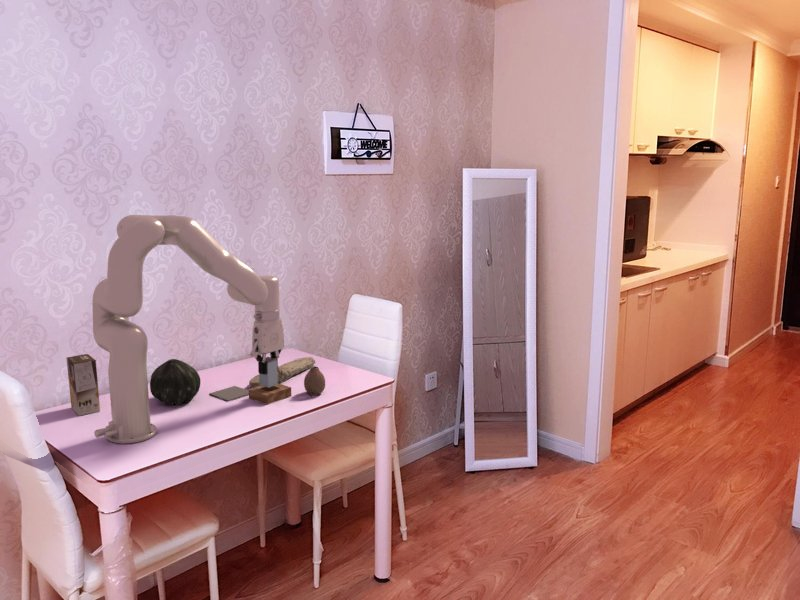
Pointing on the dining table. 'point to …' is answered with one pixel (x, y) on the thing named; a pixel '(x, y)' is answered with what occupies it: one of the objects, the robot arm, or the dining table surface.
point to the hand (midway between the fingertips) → (268, 371)
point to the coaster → (230, 393)
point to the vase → (314, 381)
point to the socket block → (269, 393)
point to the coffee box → (83, 384)
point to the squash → (174, 382)
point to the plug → (269, 373)
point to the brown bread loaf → (287, 370)
